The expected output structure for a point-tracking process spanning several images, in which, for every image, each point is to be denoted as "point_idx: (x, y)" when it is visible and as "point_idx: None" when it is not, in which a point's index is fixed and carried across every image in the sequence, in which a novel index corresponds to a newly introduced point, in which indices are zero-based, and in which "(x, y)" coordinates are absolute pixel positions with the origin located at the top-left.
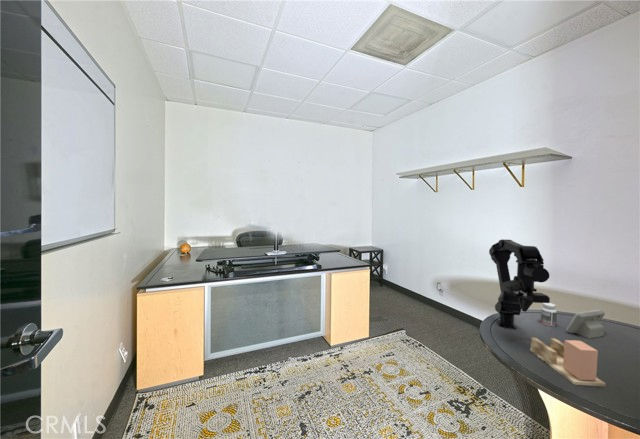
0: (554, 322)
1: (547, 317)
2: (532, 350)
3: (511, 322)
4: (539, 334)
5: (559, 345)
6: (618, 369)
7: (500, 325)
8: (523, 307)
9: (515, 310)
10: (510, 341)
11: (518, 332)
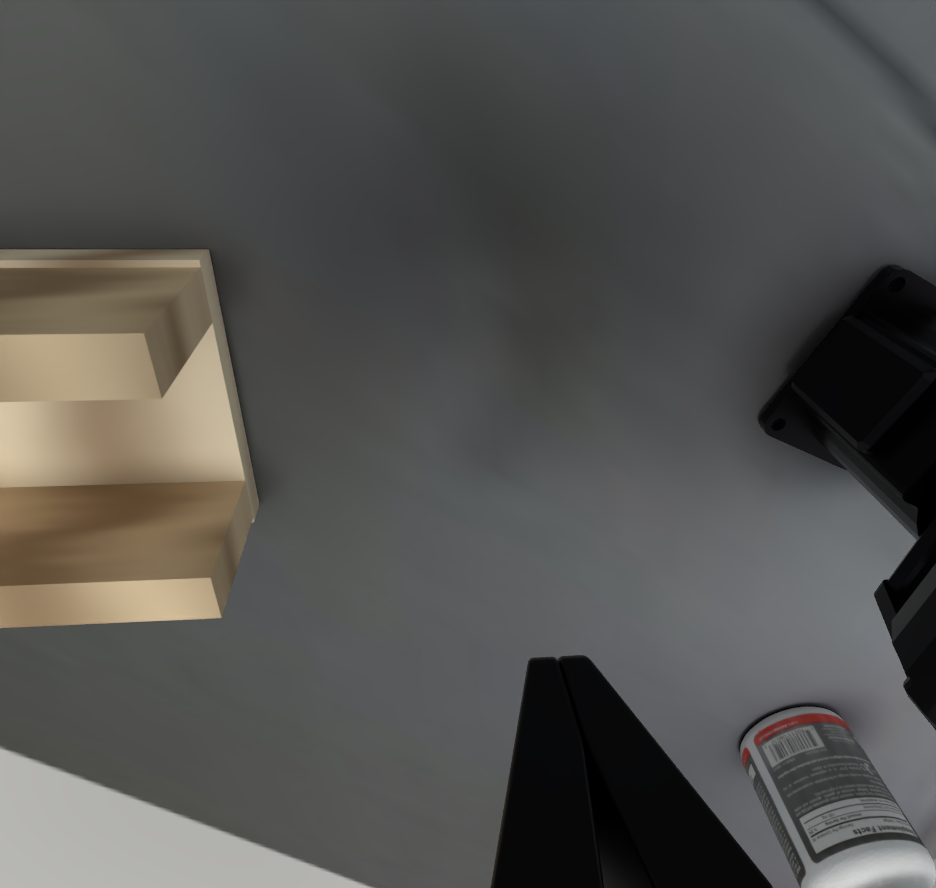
0: (753, 781)
1: (804, 791)
2: (159, 257)
3: (829, 422)
4: (618, 577)
5: (72, 567)
6: (100, 737)
7: (883, 278)
8: (515, 782)
9: (927, 599)
10: (441, 123)
11: (682, 405)
